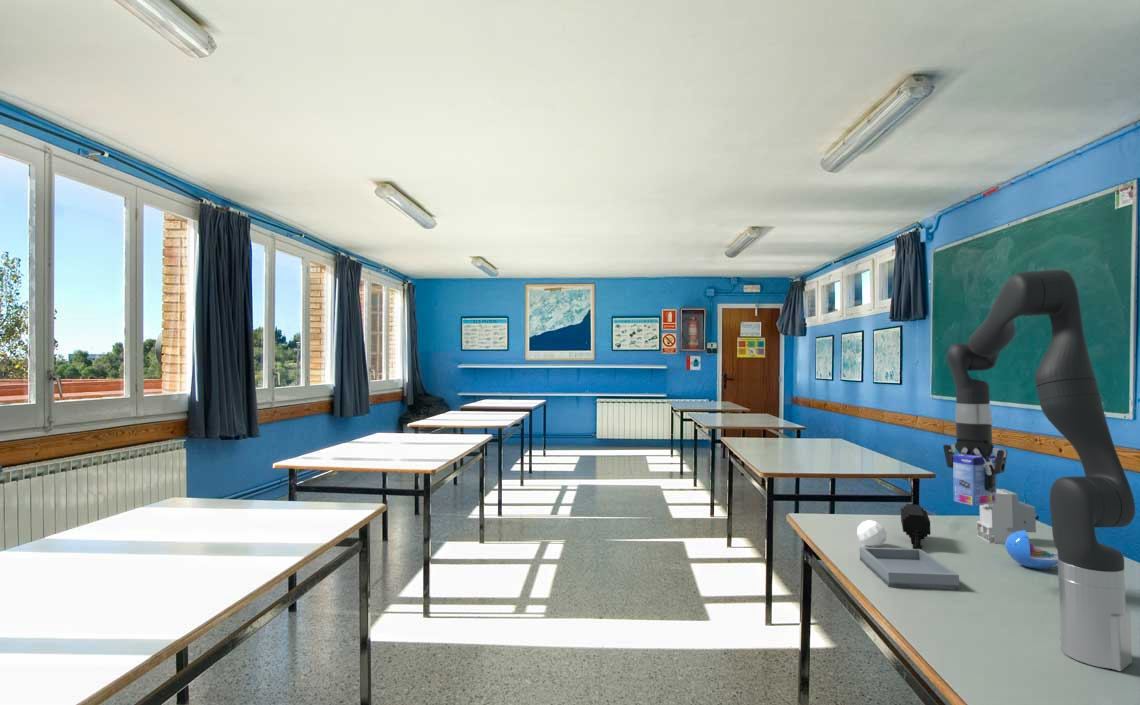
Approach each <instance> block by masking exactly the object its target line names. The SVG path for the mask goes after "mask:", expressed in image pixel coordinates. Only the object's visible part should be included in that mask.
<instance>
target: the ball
mask: <svg viewBox="0 0 1140 705" xmlns="http://www.w3.org/2000/svg"><path fill="white" fill-rule="evenodd" d="M856 531H857V532H856V535H857V537H858V539H859V541H860V542H861V543H862V544H864V545H866V546H867V547H869V548H879V547H881V546H882V545H883V544H884V543H885V542H886V540H887V532H886V530H885V528H884V526H883V524H880V523H879V522H877V521H875V520H871V519H868V520H864V521H862V522H861V523H860V524H859V525H858V526H857V530H856Z"/></svg>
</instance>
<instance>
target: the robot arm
mask: <svg viewBox="0 0 1140 705" xmlns="http://www.w3.org/2000/svg"><path fill="white" fill-rule="evenodd" d="M1046 315H1047V316H1048V317H1049V320H1050V325H1051V339H1050V340H1051V341H1050V343H1049V346H1048V347H1047V349H1046V351H1045V354H1044V355H1043V357H1042V359H1041V361H1040V362H1039V365H1038V367H1037V370H1036V371H1035V374H1034V375H1035V377H1034V382H1035V383H1034V384H1035V389H1036V392H1037V396H1038V401H1039V405H1040V408H1041V411H1042V413H1043V415H1044V416H1045V417H1046V418H1047V420H1048V421H1049V423H1051V425H1052V426H1053V427H1054V428H1055V429H1056V430H1057V431H1058V433H1060V434H1061V436H1063V437H1064V439H1066V440H1067V442H1068V443H1070V445H1071V446H1072V448H1073V449H1074V450H1075V451H1076V453H1077V455H1078V457H1079V460H1080V462H1081V464H1082V468H1083V472H1084V475H1085V476H1062V477H1059V478H1057V479H1055V480H1054V482H1053V483H1052V485H1051V488H1050V491H1049V508H1050V519H1051V520H1050V521H1051V531H1052V538H1053V542H1054V545H1055V547H1056V550H1057V554H1058V564H1057V570H1058V571H1057V574H1058V602H1059V603H1058V604H1059V605H1058V607H1059V633H1060V634H1059V635H1060V636H1059V640H1060V651H1061V652H1062V653H1063V654H1065V655H1066V656H1068V657H1069V658H1072V659H1073V660H1075V661H1078V662H1081V663H1084V664H1087V665H1089V666H1093V667H1098V668H1105V669H1112V670H1115V671H1118V672H1122V671H1124V670H1125V669H1126V668H1127V667H1128V666H1130V665H1131V664H1132V663H1133V660H1132V658H1133V657H1132V655H1133V654H1132V631H1131V630H1132V629H1131V610H1130V609H1128V608H1126V606H1127V605H1126V604H1127V603H1126V583H1125V582H1126V581H1125V580H1126V579H1125V557H1124V554H1123V552H1121V551H1119V550H1118V549H1116V548H1114V547H1112V546H1108V545H1105V544H1103V543H1100V542H1099V541H1098V539H1097V535H1096V528H1123V527H1127V526H1129V525H1130V524H1131V523H1132V522H1133V521H1134V518H1135V515H1136V502H1135V498H1134V497H1135V496H1134V494H1133V491H1132V487H1131V485H1130V483H1129V480H1128V477H1127V476H1126V473H1125V471H1124V468H1123V466H1122V462H1121V461H1120V457H1119V455H1118V453H1117V450H1116V448H1115V445H1114V441H1113V438H1112V435H1111V431H1110V429H1109V428H1110V427H1109V425H1108V422H1107V419H1106V415H1105V412H1104V407H1103V401H1102V396H1101V394H1100V389H1099V385H1098V383H1097V382H1098V381H1097V378H1096V375H1095V372H1094V370H1093V366H1092V362H1091V359H1090V355H1089V351H1088V346H1087V344H1086V339H1085V333H1084V326H1083V321H1082V314H1081V306H1080V298H1079V293H1078V288H1077V284H1076V281H1075V279H1074V278H1073V276H1072V275H1071V274H1070V273H1069V272H1068V271H1066V270H1064V269H1047V270H1046V269H1045V270H1036V271H1035V270H1034V271H1022V272H1018V273H1015V274H1013V275H1011V276H1010V277H1009V278H1008V279H1007V280H1006V281H1005V283H1004V284H1003V286H1002V288H1001V289H1000V290H999V293H998V295H997V297H996V299H995V300H994V302H993V304H992V306H991V308H990V311H989V313H988V315H987V316H986V317H985V319H984V321H983V322H982V323H981V324H980V325H979V326H978V327H977V329H975V331H973V333H971V335H970V336H969V338H968V341H967V343H966V342H964V343H954V344H952V345H951V346H950V347H949V348H948V350H947V352H946V361H947V362H946V363H947V365H948V367H949V370H950V373H951V375H952V379H953V381H954V382H953V383H954V386H955V398H956V399H955V400H956V402H955V403H956V407H955V434H956V435H955V438H956V442H955V444H951V443H948V444H944V445H942V447H943V452H944V457H945V463H946V466H947V468H951V469H952V470H953V455H955V452H956V451H957V452H958V454H970V455H971V454H972V452H973V450H974V454H973V455H976V456H980V457H982V461H983V462H982V465H983V467H984V470H985V472H986V474H987V475H985V479H986V490H993V488H995V475H996V476H997V475H999V474H1003V473H1005V469H1006V463H1007V457H1008V450H1007V449H1000V448H996V447H995V446H994V445H993V427H992V426H993V425H992V424H993V423H992V422H993V417H992V411H991V410H992V409H991V403H990V402H991V400H990V398H991V397H990V386H989V383H988V382H987V381H985V380H980V379H975V378H972V377H971V376H970V374H969V372H971V371H974V372H975V371H983V372H984V371H988V370H990V369H993V368H994V367H995V366H996V365H997V361H998V359H999V356H1000V353H1001V351H1002V350H1004V349H1005V348H1006V347H1007V346H1008V345H1009V344H1010V343H1011V342H1012V340H1013V339H1014V338H1015V334H1016V326H1015V322H1014V320H1015V319H1016V318H1018V317H1021V316H1028V317H1029V316H1046ZM968 371H969V372H968ZM975 447H978V448H976V449H975ZM990 455H995V457H996V464H995V469H994V467H993V463H992V461H991V459H990V458H989V462H986V461H985V459H987V458H988V457H989V456H990Z"/></svg>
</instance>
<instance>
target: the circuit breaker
mask: <svg viewBox="0 0 1140 705" xmlns="http://www.w3.org/2000/svg"><path fill="white" fill-rule="evenodd" d="M1036 520H1039V515H1037V514H1036V507H1035V506H1033V505H1030V504H1027V503H1025V502H1022V501H1019V494H1018V493H1017V492H1013V491H1010V490H1007V489H1005V488H996V503H990V504H984V505H979V520H976V531H977V534H976V536H977V537H979V538H980V539H982V540H984V541H985V542H986V543H989V544H991V543H992V544H1004V545H1005V542H1006V539H1007V538H1008V537H1009V535H1011V534H1012V533H1014V532H1017V531H1021V530H1025V531H1026V532H1027V533H1036V532H1037V527H1036V526H1037V524H1036V522H1037V521H1036Z"/></svg>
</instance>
